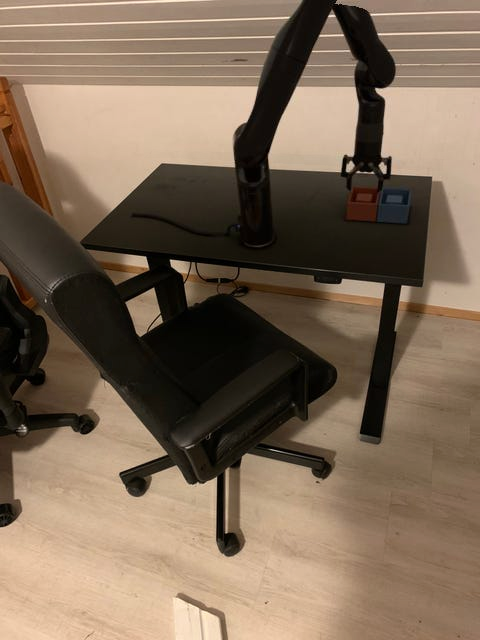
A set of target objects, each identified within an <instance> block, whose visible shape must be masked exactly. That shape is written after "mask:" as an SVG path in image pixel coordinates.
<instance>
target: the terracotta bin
mask: <svg viewBox="0 0 480 640" xmlns="http://www.w3.org/2000/svg"><path fill="white" fill-rule="evenodd" d="M377 189H378V186H377V187H374V186H353V185H352V187H351V191H350V193H349V197H348V199H347V203H346V219H345V220H346V221H362V222H377V213H378V204H379V200H380V195H381V191H380V193H378V192H377ZM358 193H361V194H372V203H356V198H357V195H358Z"/></svg>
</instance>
